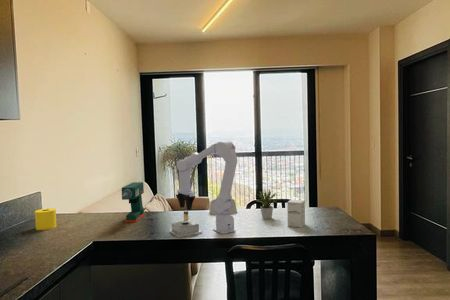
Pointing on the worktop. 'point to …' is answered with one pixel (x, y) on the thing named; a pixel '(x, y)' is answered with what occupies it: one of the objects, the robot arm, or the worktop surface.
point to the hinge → (232, 210)
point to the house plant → (266, 205)
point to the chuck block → (185, 228)
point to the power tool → (134, 200)
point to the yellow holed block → (45, 219)
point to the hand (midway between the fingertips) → (185, 208)
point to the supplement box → (296, 213)
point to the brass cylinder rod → (186, 215)
